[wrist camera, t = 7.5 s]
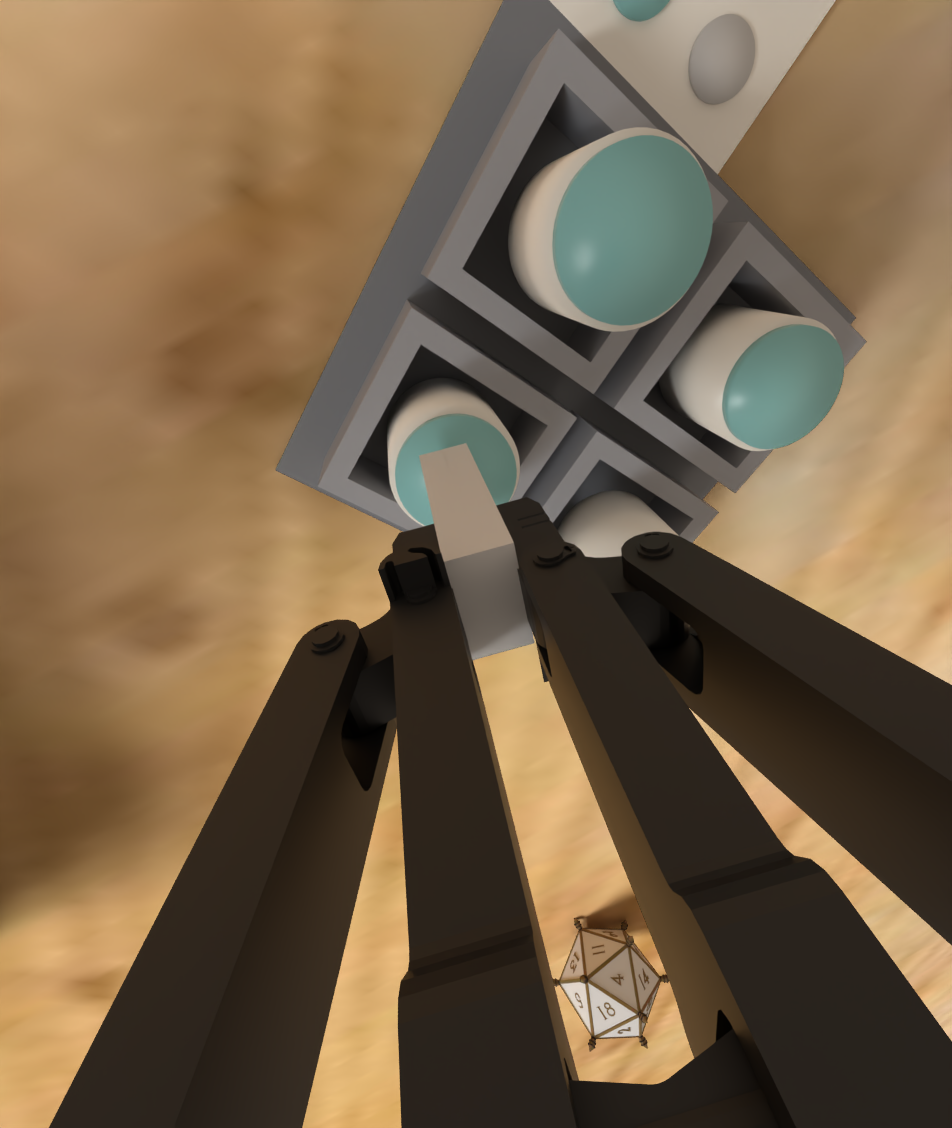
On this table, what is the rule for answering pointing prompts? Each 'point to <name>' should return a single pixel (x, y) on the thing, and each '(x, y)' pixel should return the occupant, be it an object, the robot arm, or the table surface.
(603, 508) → the button
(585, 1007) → the game die
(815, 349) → the button
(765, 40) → the card
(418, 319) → the board
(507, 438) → the button
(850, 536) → the table surface
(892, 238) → the table surface
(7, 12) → the table surface
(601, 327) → the button
